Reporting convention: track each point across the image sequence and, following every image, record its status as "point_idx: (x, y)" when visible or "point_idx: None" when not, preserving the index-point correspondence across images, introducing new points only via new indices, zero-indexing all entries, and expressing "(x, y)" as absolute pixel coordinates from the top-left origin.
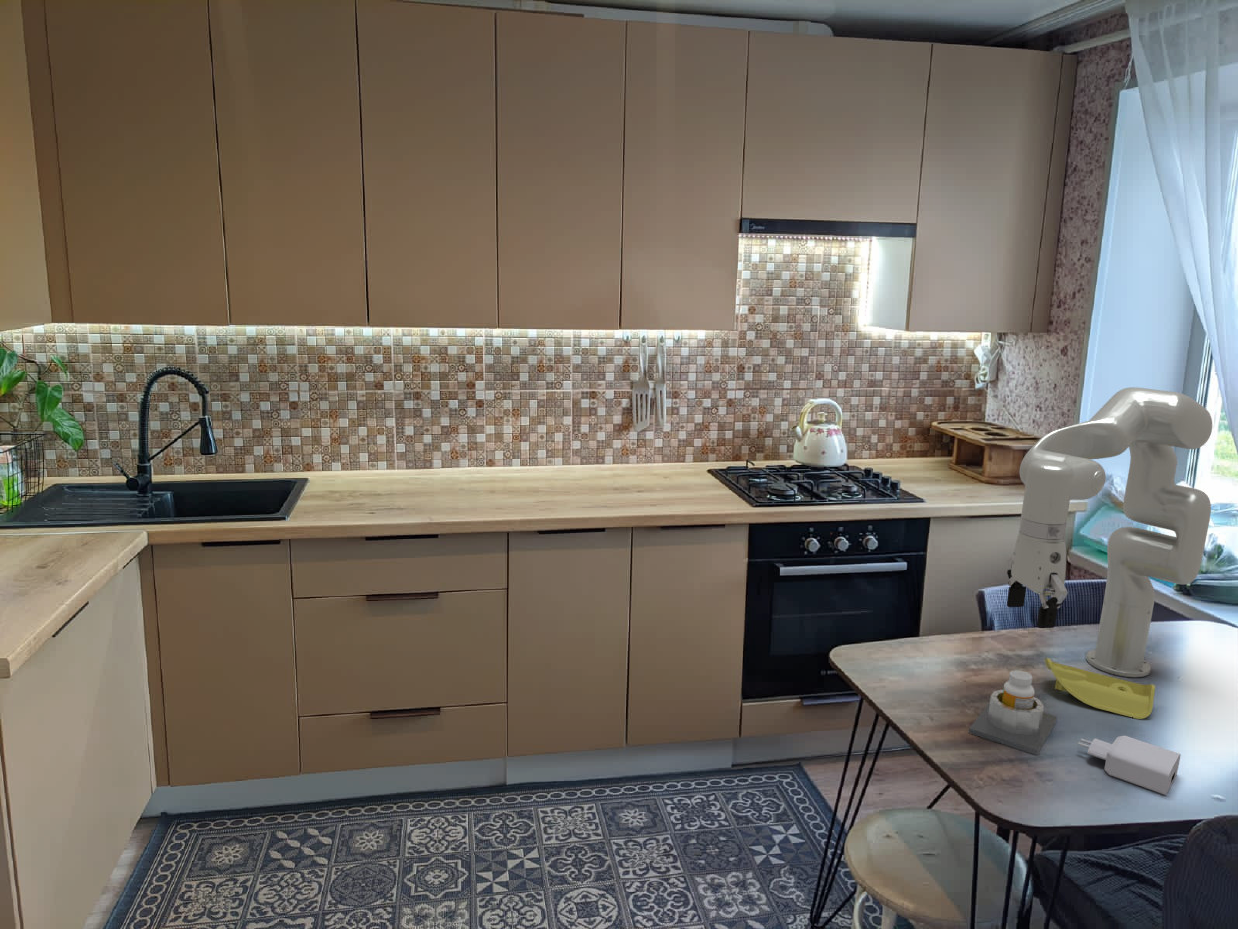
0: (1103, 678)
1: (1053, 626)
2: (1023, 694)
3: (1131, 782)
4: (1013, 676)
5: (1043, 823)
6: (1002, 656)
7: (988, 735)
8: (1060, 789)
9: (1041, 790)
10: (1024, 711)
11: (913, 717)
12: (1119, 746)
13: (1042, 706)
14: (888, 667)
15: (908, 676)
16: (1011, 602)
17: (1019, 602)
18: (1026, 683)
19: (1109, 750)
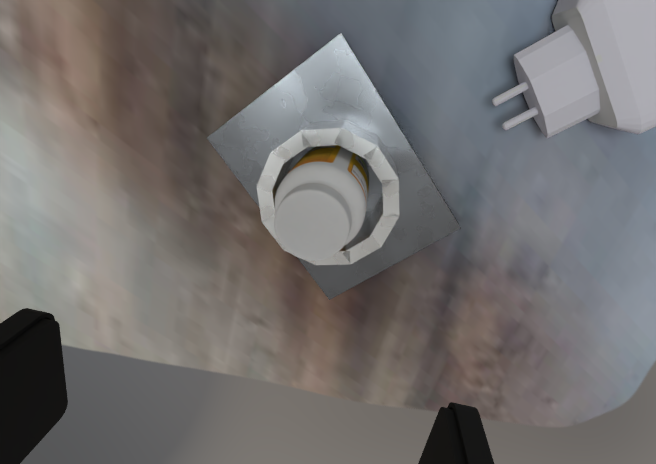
0: None
1: (473, 416)
2: (359, 230)
3: None
4: (315, 260)
5: (639, 385)
6: None
7: (364, 279)
8: (581, 276)
9: (563, 313)
10: (386, 228)
11: (247, 348)
12: (637, 81)
13: (378, 152)
14: (25, 258)
15: (69, 243)
16: (36, 430)
17: (31, 377)
18: (350, 229)
19: (622, 121)
